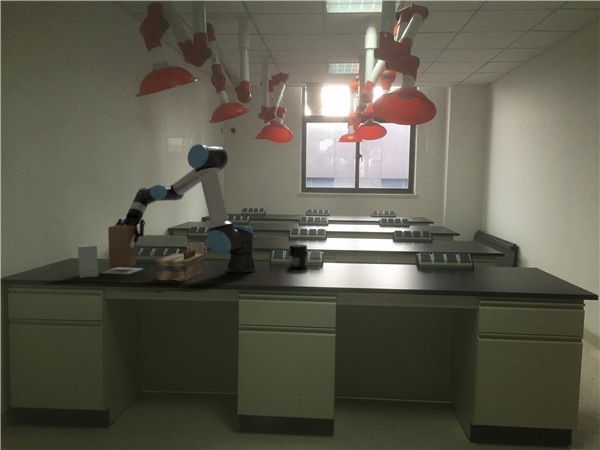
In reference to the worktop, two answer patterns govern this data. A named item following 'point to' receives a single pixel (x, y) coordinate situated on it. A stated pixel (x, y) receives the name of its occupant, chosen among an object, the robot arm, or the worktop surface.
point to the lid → (181, 257)
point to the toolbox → (179, 270)
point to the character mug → (197, 247)
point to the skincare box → (88, 260)
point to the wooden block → (121, 246)
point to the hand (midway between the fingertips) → (120, 246)
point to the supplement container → (297, 257)
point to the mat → (123, 270)
